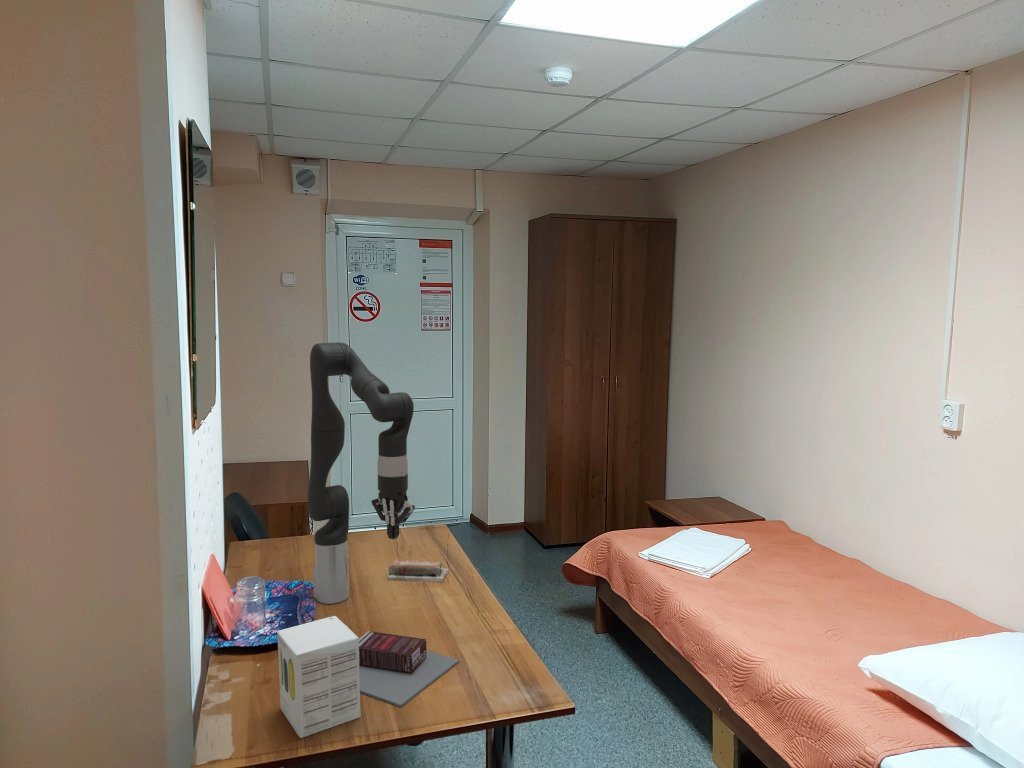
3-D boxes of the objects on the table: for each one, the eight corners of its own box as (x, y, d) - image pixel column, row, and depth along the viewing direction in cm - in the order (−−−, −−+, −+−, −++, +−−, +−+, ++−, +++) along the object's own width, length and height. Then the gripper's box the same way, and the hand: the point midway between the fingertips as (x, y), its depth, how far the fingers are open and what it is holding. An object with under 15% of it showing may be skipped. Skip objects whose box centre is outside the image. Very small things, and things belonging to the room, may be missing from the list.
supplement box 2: (350, 665, 166) (411, 675, 161) (349, 646, 165) (411, 655, 161) (368, 648, 174) (427, 657, 169) (368, 629, 174) (426, 638, 169)
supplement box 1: (278, 708, 149) (275, 630, 147) (338, 689, 157) (336, 614, 155) (299, 740, 138) (296, 655, 136) (362, 717, 146) (360, 637, 144)
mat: (331, 682, 159) (331, 680, 159) (393, 642, 178) (393, 640, 178) (400, 707, 149) (400, 704, 149) (459, 662, 168) (459, 659, 168)
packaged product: (385, 566, 219) (394, 555, 229) (385, 581, 219) (394, 570, 229) (442, 568, 217) (448, 557, 227) (442, 584, 217) (448, 572, 227)
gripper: (362, 471, 177) (363, 537, 179) (403, 478, 170) (403, 547, 172) (382, 465, 183) (383, 529, 185) (422, 472, 176) (422, 538, 178)
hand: (393, 538), depth 179 cm, fingers closed
